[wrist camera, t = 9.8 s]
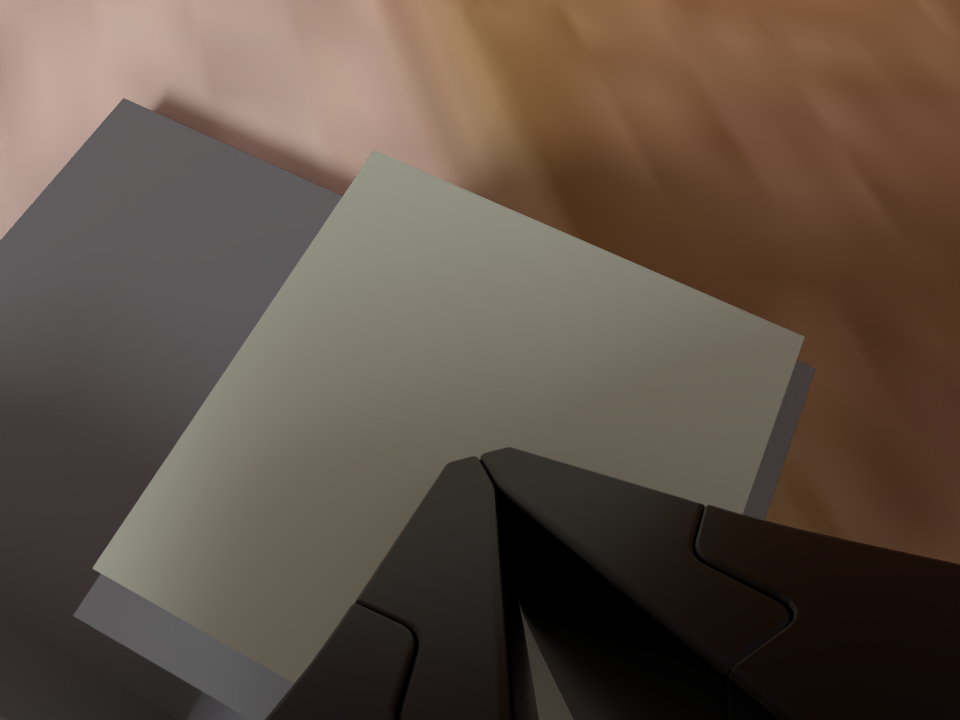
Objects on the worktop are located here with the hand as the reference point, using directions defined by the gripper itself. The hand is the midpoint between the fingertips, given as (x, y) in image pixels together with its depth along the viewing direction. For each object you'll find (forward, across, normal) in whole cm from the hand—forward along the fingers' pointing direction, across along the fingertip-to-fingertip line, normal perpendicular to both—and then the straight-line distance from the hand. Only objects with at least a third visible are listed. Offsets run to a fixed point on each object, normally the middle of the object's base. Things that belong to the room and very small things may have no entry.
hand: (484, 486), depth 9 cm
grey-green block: (+5, 0, -4) cm, 6 cm away
